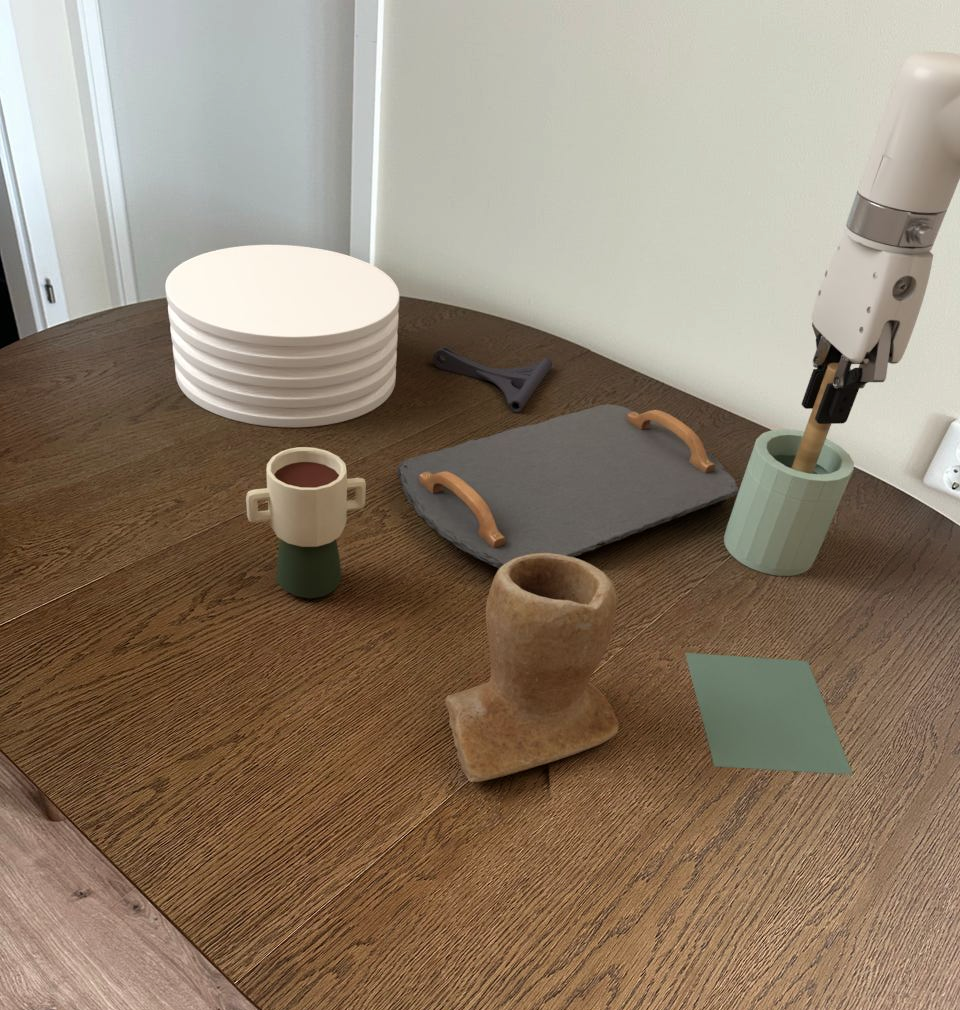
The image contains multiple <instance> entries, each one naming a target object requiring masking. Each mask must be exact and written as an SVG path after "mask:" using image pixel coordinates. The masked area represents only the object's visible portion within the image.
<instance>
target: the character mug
mask: <svg viewBox="0 0 960 1010" xmlns="http://www.w3.org/2000/svg"><path fill="white" fill-rule="evenodd" d="M265 470H266V487H265V488H257V489H256V488H255V489H251V490H249V491H247V493H246V495H245V504H246V506H245V507H246V517H247V519H248V522H250V523H254V524H258V523H265V522H268V524H269V526H270V527H271V529H272V531H273V532H274V534H275V535H276V537H277V538H278V539H279V543H278V552H277V560H276V580H275V581H276V583H278V585H279V586H280V587H281V589H282V590H284V591H286V592H287V593H290V594H291V595H293V596H294V597H300V598H305V599H316V598H321V597H325V596H327V595H329V594H330V593H332V592H334V591H335V590H337V588H338V586H339V585H340V583H341V582H342V569H341V568H342V567H341V560H340V553H339V547H338V546H339V545H338V541H337V539H338V538H340V537H341V535H342V534H343V532H344V529H345V527H346V525H347V520H348V519H347V516H348V515H347V512H351V511H358V510H362V509H363V508H364V507H365V505H366V493H367V491H366V490H367V481H366V479H365V478H363V477H362V478H361V477H353V478H352V477H351V478H348V472H347V465H346V462H344V461H343V459H341V457H340V456H338V455H337V454H334V453H333V452H330V451H329V450H325V449H322V448H317V447H307V446H299V447H297V446H296V447H292V448H288V449H285V450H281V451H280V452H278V453H277V454H275V455H272V457H271V458H270V459H269V461H268V462H267V463H266V469H265ZM348 490H355V492H354V495H355V497H354V499H348ZM265 500H267V508H268V509H267V510H259V507H258V501H265Z"/></svg>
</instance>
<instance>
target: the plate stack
mask: <svg viewBox="0 0 960 1010" xmlns="http://www.w3.org/2000/svg"><path fill="white" fill-rule="evenodd" d="M164 288H165V295H166V301H167V310H168V311H167V312H168V319H169V324H170V327H169V329H170V330H169V331H170V336H171V338H170V339H171V342H172V354H173V355H172V356H173V361H174V371H175V379H176V382H177V385H178V387H179V389H180V390H181V392H182V393H183V394H184V395H185V397H186V398H188V399H189V400H190V401H191V402H193V403H194V404H195V405H197V406H198V407H200V408H202V409H203V410H206V411H208V412H210V413H213V414H214V415H218V416H220V417H222V418H226V419H229V420H232V421H236V422H238V423H239V422H240V423H244V424H249V425H254V426H255V425H256V426H262V427H270V428H272V427H273V428H312V427H321V426H329V425H333V424H338V423H339V424H340V423H343V422H347V421H349V420H353V419H357V418H359V417H361V416H364V415H366V414H368V413H369V412H372V411H374V410H376V409H377V408H378V407H380V406H381V405H383V404H384V403H385V402H386V401H387V400H388V399H389V398H390V396H392V393H393V391H394V389H395V386H396V379H397V368H396V367H397V358H398V357H397V355H398V351H397V348H398V334H399V333H398V328H399V309H400V290H399V288H398V286H397V284H396V283H395V281H394V280H393V279H392V278H391V277H390V276H389V274H387V273H386V272H385V271H383V270H381V269H380V268H378V267H377V266H375V265H373V264H371V263H368V262H367V261H364V260H362V259H359V258H356V257H353V256H351V255H347V254H344V253H340V252H338V251H337V252H336V251H332V250H327V249H322V248H316V247H310V246H302V245H290V244H251V245H241V246H232V247H225V248H220V249H216V250H212V251H209V252H208V251H207V252H205V253H201V254H198V255H195V256H194V257H192V258H189V259H187V260H185V261H183V262H181V263H180V264H178V265H176V267H175V268H173V270H171V272H170V273H169V274H168V276H167V278H166V281H165V286H164Z"/></svg>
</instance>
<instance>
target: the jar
mask: <svg viewBox="0 0 960 1010" xmlns="http://www.w3.org/2000/svg"><path fill="white" fill-rule="evenodd" d="M804 431H805V430H799V429H788V428H782V429H771V430H768V431H765V432H762V433H761V434H760V435H759V436H758V437H756V439H755V442H754V444H753V448H752V450H751V454H750V457H749V460H748V463H747V466H746V469H745V472H744V474H743V477H742V481H741V484H740V486H739V488H738V489H739V492H738V494H737V495H736V498H735V501H734V504H733V507H732V510H731V513H730V516H729V519H728V522H727V525H726V528H725V532H724V534H723V543H724V546H725V549H726V550H727V552H728V553H729V554H730V555H731V556H732V557H733V558H734V559H735V560H736V561H737V562H739V563H740V564H742V565H743V566H745V567H748V568H749V569H751V570H754V571H755V572H756V571H757V572H758V573H759V572H760V573H762V574H765V575H771V576H777V577H792V576H793V577H794V576H798V575H801V574H804V573H807V572H808V571H809V570H810V569H811V568H812V566H813V565H814V562H815V560H816V559H817V557H818V554H819V552H820V550H821V548H822V545H823V544H824V541H825V538H826V536H827V534H828V531H829V529H830V526H831V524H832V522H833V519H834V518H835V515H836V512H837V510H838V508H839V505H840V504H841V500H842V497H843V495H844V494H845V492H846V489H847V486H848V484H849V481H850V479H851V477H852V475H853V472H854V469H855V461H854V460H853V459H852V457H851V455H850V454H849V453H848V452H847V451H846V450H845V449H844V448H843V447H842V446H841V445H839V444H837V443H835V442H834V441H832V440H830V439H828V438H826V440H825V442H824V445H823V448H822V450H821V453H820V456H819V458H818V461H817V464H816V466H815V469H814V471H815V472H816V473H817V474H809V473H805V472H801V471H796V470H794V469H791V468H789V467H786V466H785V465H793V462H794V459H795V457H796V454H797V451H798V448H799V445H800V443H801V440H802V437H803V434H804Z"/></svg>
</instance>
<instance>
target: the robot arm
mask: <svg viewBox="0 0 960 1010" xmlns="http://www.w3.org/2000/svg"><path fill="white" fill-rule="evenodd" d="M880 118H881V119H880V122H879V125H878V127H877V130H876V132H875V136H874V138H873V142H872V145H871V148H870V151H869V154H868V157H867V160H866V163H865V166H864V170H863V172H862V175H861V178H860V181H859V184H858V188H857V190H856V193H855V196H854V199H853V202H852V205H851V207H850V211H849V213H848V217H847V220H846V223H845V226H844V229H843V232H842V233H841V236H840V238H839V240H838V242H837V244H836V245H835V249H834V251H833V253H832V255H831V257H830V259H829V262H828V264H827V267H826V270H825V272H824V275H823V277H822V280H821V283H820V286H819V288H818V291H817V295H816V297H815V301H814V303H813V304H814V305H813V308H812V312H811V325H812V326H811V327H812V330H813V332H814V336H815V347H816V348H815V349H816V350H815V352H814V355H813V358H812V367H813V369H812V372H811V375H810V378H809V381H808V383H807V387H806V389H805V392H804V396H803V398H802V402H801V406H802V407H803V408H804V409H806V410H812V409H813V406H814V403H815V401H816V398H817V395H818V392H819V389H820V387H821V384H822V381H823V378H824V375H825V373H826V370H827V367H828V365H829V364H830V363H839V365H838V367H837V370H836V373H835V376H834V379H833V383H828V384H827V386H826V389H825V392H824V394H823V397H822V400H821V403H820V405H819V408H818V411H817V414H816V417H815V420H816V422H817V423H819V424H831V425H832V424H833V425H834V424H838V425H839V424H840V425H841V424H845V423H846V422H847V421H848V419H849V416H850V413H851V411H852V409H853V407H854V406H853V405H854V404H855V401H856V398H857V395H858V394H859V390H860V389H864V388H865V386H866V384H868V383H884V382H885V381H886V379H887V374H888V365H889V364H893V365H896V364H898V363H900V361H901V360H902V358H903V357H904V355H905V352H906V349H907V347H908V346H909V345H908V344H909V342H910V339H911V337H912V334H913V331H914V329H915V326H916V323H917V320H918V317H919V314H920V312H921V308H922V304H923V302H924V298H925V294H926V291H927V289H928V284H929V280H930V276H931V270H932V264H933V259H934V254H933V253H932V252H931V251H932V249H933V247H934V244H935V241H936V239H937V237H938V234H939V231H940V229H941V226H942V223H943V222H944V219H945V217H946V214H947V211H948V209H949V206H950V204H951V203H952V200H953V197H954V194H955V192H956V189H957V187H958V184H959V182H960V54H959V53H953V52H945V51H933V50H932V51H931V50H929V51H926V50H925V51H920V52H915V53H913V54H911V55H909V56H908V57H906V58H905V59H904V61H903V62H902V63H901V65H900V66H899V67H898V69H897V72H896V75H895V77H894V80H893V82H892V86H891V89H890V91H889V95H888V98H887V101H886V104H885V106H884V110H883V112H882V116H881V117H880ZM852 365H858V367H854V368H851V367H852ZM850 369H851V370H850ZM849 370H850V371H849Z"/></svg>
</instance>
